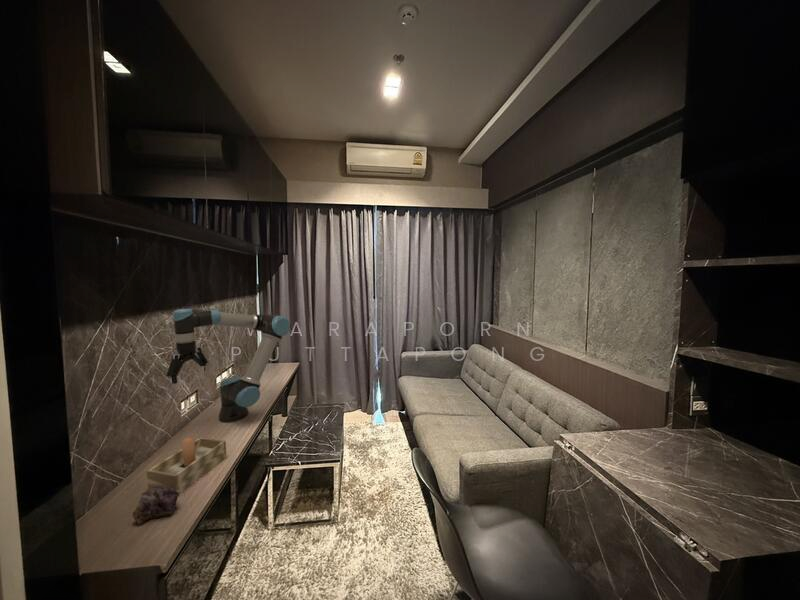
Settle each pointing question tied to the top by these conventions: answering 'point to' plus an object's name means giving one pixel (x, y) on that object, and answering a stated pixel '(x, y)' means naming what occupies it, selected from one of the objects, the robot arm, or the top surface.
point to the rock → (156, 503)
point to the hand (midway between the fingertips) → (190, 383)
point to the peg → (188, 451)
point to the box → (182, 478)
